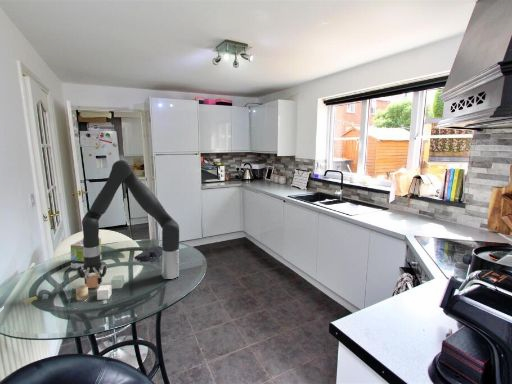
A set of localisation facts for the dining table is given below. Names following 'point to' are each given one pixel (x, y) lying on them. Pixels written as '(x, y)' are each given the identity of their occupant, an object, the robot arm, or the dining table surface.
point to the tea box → (79, 254)
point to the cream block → (104, 292)
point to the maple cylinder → (81, 293)
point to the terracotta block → (92, 281)
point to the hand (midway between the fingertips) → (93, 284)
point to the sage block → (117, 281)
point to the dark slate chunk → (150, 254)
